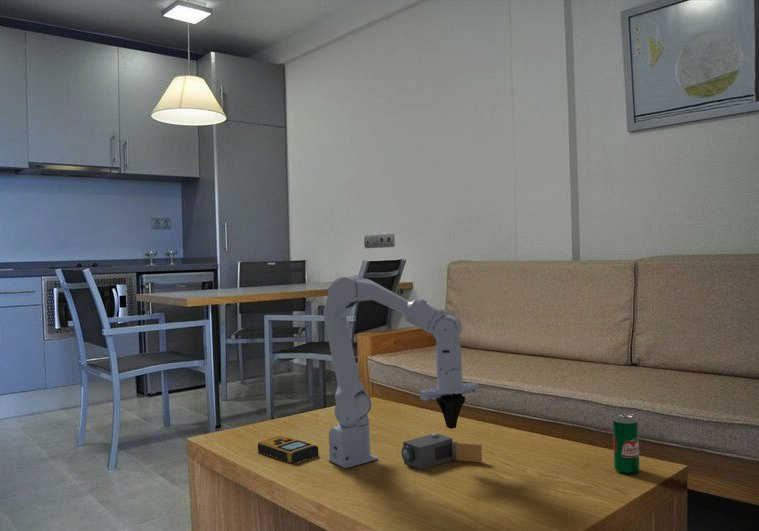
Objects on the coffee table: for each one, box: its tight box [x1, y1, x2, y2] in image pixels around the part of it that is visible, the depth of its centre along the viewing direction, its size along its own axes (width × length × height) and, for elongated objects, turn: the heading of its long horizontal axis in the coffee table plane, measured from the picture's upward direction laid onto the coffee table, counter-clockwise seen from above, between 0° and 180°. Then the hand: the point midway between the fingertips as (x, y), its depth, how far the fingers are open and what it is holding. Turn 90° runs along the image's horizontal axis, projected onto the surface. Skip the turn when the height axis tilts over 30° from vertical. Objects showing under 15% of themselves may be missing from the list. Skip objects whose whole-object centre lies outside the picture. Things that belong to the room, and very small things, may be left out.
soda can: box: [612, 412, 641, 475], centre depth 133 cm, size 5×5×12 cm
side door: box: [453, 440, 483, 463], centre depth 143 cm, size 7×1×4 cm, turn 68°
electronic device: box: [257, 435, 320, 464], centre depth 155 cm, size 8×16×3 cm, turn 45°
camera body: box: [400, 432, 454, 471], centre depth 144 cm, size 11×6×6 cm, turn 126°
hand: (451, 427), depth 141 cm, fingers closed
